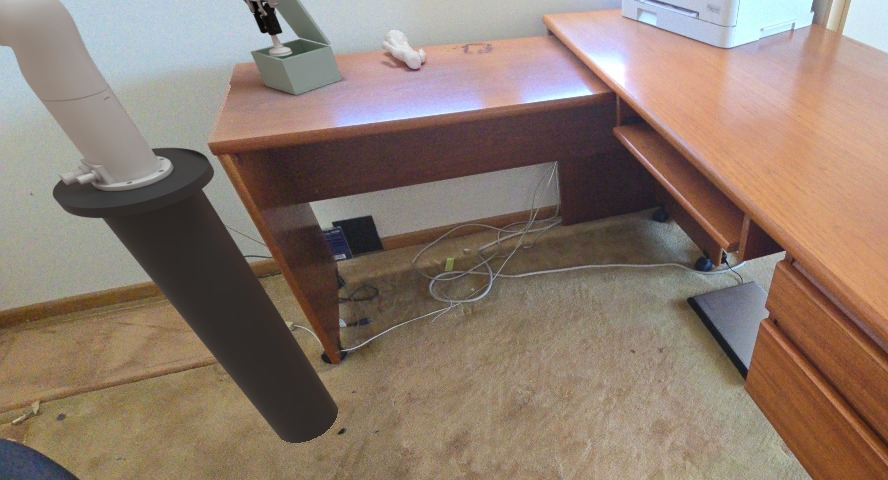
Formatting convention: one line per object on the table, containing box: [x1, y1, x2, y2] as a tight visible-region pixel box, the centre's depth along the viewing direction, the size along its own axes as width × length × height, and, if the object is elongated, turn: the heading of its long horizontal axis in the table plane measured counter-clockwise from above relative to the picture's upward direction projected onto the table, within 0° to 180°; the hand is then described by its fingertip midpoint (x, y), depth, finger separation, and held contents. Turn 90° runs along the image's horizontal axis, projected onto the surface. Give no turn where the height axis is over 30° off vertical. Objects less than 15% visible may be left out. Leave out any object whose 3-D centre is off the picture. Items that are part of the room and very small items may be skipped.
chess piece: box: [258, 9, 292, 56], centre depth 122 cm, size 5×5×10 cm
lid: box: [275, 0, 332, 46], centre depth 125 cm, size 14×12×5 cm
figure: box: [381, 29, 426, 70], centre depth 145 cm, size 11×7×20 cm
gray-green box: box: [250, 38, 343, 96], centre depth 130 cm, size 14×12×8 cm
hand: (271, 32), depth 122 cm, fingers closed on chess piece
